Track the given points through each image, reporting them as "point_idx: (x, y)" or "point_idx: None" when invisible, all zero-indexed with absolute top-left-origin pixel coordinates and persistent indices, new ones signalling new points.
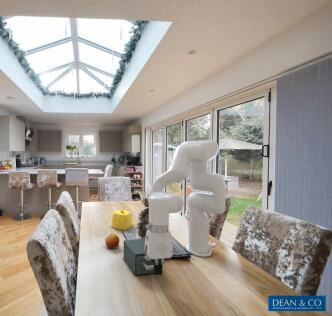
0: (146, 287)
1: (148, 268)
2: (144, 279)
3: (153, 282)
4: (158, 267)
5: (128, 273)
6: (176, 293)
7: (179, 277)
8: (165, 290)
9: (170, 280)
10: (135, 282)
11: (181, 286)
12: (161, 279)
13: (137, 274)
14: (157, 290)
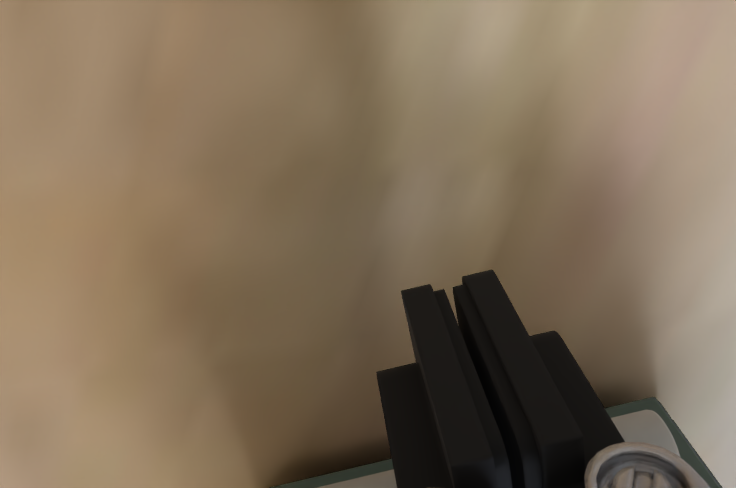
0: (613, 157)
1: (635, 436)
2: (564, 331)
3: (457, 279)
4: (547, 397)
5: (724, 424)
6: (150, 26)
7: (14, 419)
8: (328, 100)
9: (175, 343)
10: (723, 258)
11: (19, 219)
12: (311, 352)
13: (654, 398)
14: (465, 92)
